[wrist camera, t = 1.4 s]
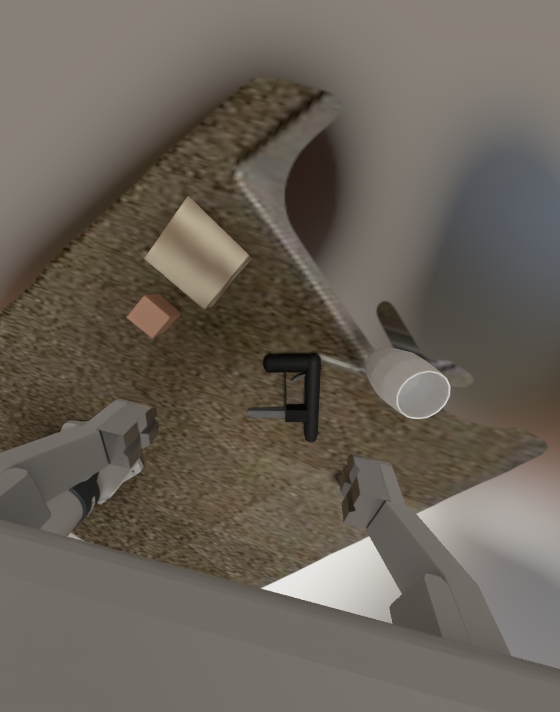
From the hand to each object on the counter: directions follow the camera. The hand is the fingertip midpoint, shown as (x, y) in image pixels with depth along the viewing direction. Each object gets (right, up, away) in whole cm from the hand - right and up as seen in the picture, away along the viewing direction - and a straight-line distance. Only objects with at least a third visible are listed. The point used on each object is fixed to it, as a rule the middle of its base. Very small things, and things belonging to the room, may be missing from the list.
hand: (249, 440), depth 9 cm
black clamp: (+2, -5, +40) cm, 40 cm away
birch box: (-11, +20, +30) cm, 38 cm away
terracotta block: (-21, +11, +33) cm, 40 cm away
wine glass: (+17, +6, +36) cm, 40 cm away
